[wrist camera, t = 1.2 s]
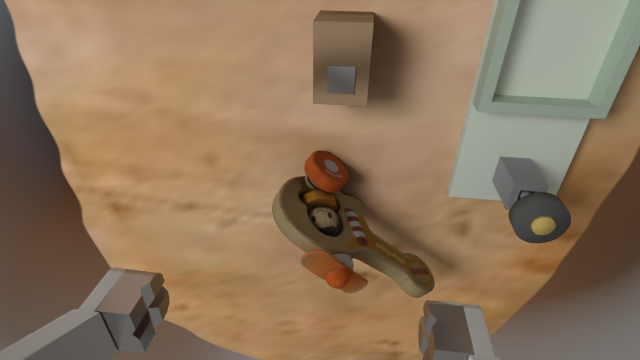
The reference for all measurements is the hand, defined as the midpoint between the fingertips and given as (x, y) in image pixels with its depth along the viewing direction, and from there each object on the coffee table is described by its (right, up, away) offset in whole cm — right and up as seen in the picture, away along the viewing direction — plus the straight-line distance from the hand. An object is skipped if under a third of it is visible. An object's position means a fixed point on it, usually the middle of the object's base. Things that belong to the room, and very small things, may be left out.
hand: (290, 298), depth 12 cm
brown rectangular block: (+3, +16, +24) cm, 29 cm away
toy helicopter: (+5, +1, +34) cm, 35 cm away
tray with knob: (+21, +13, +24) cm, 34 cm away
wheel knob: (+20, +3, +25) cm, 32 cm away
